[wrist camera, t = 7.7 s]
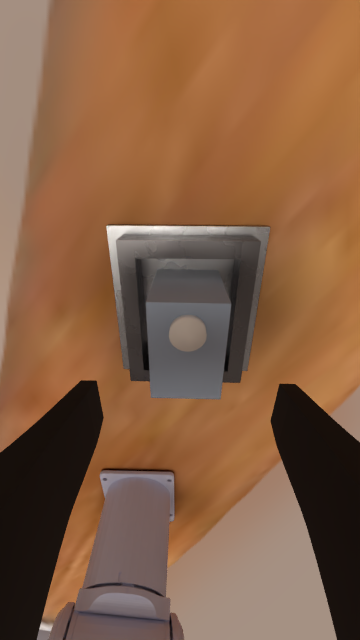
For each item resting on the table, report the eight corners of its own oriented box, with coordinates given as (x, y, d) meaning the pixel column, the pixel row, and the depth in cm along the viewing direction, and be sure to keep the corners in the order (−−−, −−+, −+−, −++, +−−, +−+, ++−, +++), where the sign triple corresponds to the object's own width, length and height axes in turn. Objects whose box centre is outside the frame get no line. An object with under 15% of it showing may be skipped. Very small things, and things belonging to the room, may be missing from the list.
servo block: (211, 346, 20) (221, 405, 14) (159, 345, 20) (149, 404, 14) (217, 269, 17) (233, 308, 11) (157, 268, 17) (144, 306, 11)
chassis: (245, 366, 21) (253, 388, 19) (125, 365, 21) (117, 385, 19) (267, 225, 16) (281, 232, 14) (108, 224, 16) (96, 230, 14)
